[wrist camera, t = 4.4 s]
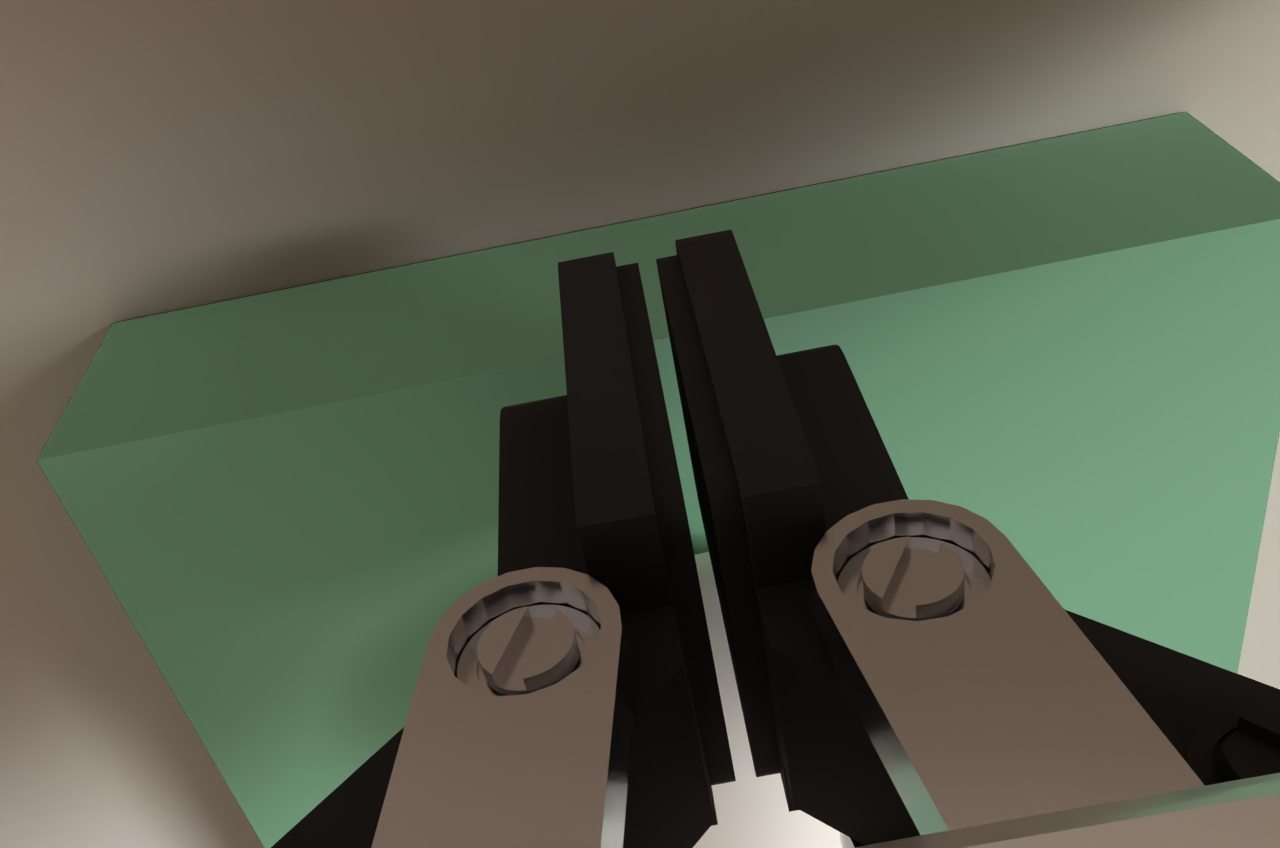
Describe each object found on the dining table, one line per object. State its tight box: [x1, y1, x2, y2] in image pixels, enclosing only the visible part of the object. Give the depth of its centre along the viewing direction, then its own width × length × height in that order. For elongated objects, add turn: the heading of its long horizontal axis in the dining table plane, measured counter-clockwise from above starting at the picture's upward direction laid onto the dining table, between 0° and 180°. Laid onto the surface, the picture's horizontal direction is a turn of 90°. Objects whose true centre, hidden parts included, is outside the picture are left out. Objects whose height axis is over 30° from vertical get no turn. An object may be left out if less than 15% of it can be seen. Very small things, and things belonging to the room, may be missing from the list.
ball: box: [693, 552, 842, 848], centre depth 13 cm, size 4×4×4 cm
